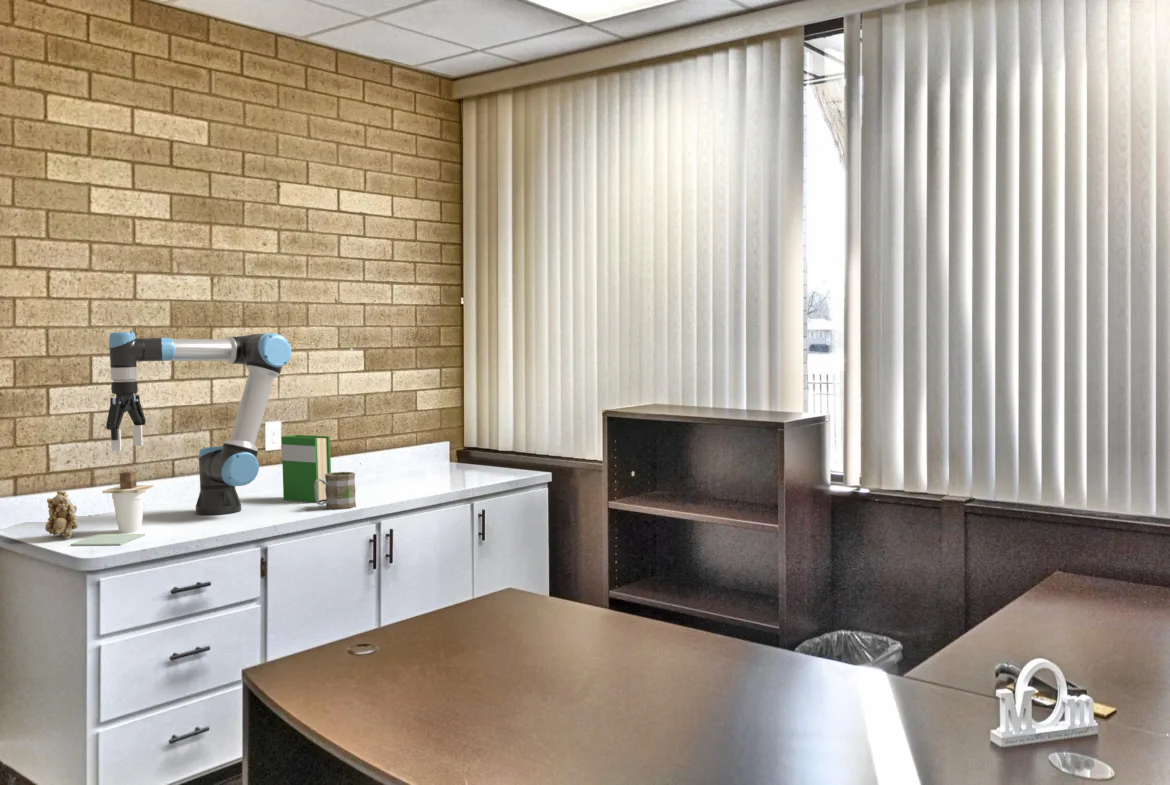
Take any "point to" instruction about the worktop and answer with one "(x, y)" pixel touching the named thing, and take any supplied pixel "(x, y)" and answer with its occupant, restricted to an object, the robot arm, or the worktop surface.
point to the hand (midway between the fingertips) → (127, 448)
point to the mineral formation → (61, 515)
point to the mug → (338, 490)
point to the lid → (128, 484)
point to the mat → (107, 539)
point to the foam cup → (129, 511)
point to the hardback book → (305, 466)
